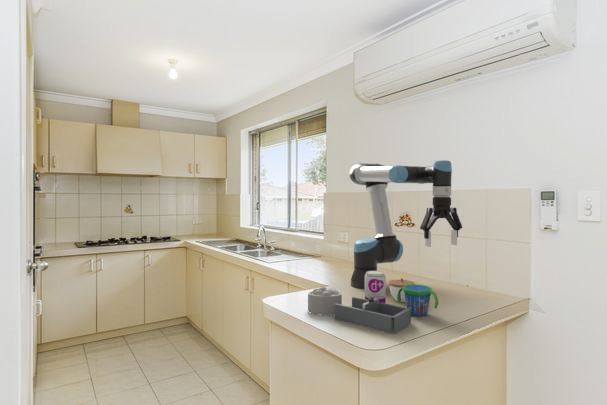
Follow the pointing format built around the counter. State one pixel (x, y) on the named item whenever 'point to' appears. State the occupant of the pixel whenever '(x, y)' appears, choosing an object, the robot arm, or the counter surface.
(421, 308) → the snack cup
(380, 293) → the supplement can
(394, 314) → the gray storage bin
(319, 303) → the lumpy-topped squat cylinder
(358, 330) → the counter surface
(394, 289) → the lidded jar
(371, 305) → the pusher
